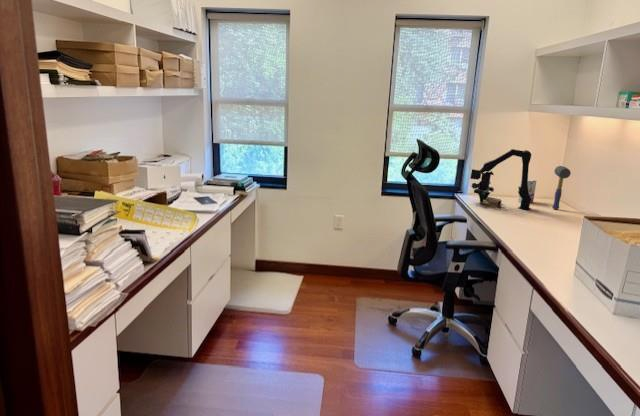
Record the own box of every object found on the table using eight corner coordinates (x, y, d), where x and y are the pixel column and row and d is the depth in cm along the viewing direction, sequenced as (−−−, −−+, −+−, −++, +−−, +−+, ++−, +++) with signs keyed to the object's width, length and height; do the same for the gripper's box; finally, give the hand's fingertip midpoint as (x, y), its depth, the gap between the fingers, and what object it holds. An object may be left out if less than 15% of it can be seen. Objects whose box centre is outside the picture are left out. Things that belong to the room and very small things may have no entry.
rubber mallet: (564, 212, 294) (572, 168, 286) (552, 211, 295) (560, 167, 288) (558, 207, 306) (566, 165, 298) (546, 206, 307) (554, 164, 300)
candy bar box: (527, 200, 323) (530, 179, 319) (533, 202, 319) (537, 180, 315) (517, 201, 318) (521, 180, 314) (523, 203, 314) (527, 181, 310)
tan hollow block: (492, 204, 306) (493, 198, 304) (500, 206, 301) (501, 200, 300) (487, 206, 301) (488, 199, 300) (496, 207, 297) (497, 201, 296)
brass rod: (479, 203, 307) (479, 199, 306) (481, 202, 309) (481, 198, 308) (494, 206, 300) (494, 202, 299) (496, 206, 302) (496, 201, 301)
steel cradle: (485, 200, 318) (486, 196, 318) (500, 203, 311) (500, 199, 310) (480, 201, 313) (481, 197, 312) (495, 204, 305) (495, 200, 305)
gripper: (480, 177, 315) (477, 198, 319) (468, 179, 302) (465, 201, 306) (495, 179, 307) (492, 201, 311) (483, 182, 294) (480, 204, 298)
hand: (482, 202), depth 307 cm, fingers closed on brass rod, 3 cm apart
